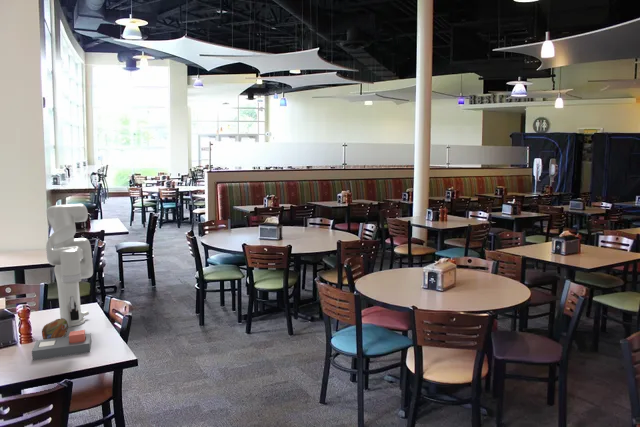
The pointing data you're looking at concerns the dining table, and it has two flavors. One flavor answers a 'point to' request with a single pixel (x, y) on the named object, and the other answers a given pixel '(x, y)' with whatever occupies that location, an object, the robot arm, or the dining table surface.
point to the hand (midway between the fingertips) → (75, 319)
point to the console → (61, 348)
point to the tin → (55, 329)
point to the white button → (47, 343)
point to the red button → (77, 336)
